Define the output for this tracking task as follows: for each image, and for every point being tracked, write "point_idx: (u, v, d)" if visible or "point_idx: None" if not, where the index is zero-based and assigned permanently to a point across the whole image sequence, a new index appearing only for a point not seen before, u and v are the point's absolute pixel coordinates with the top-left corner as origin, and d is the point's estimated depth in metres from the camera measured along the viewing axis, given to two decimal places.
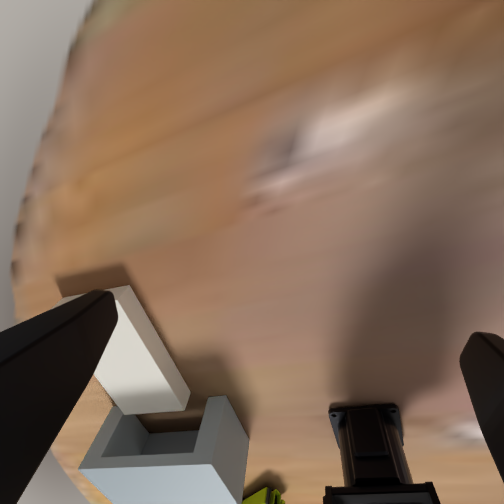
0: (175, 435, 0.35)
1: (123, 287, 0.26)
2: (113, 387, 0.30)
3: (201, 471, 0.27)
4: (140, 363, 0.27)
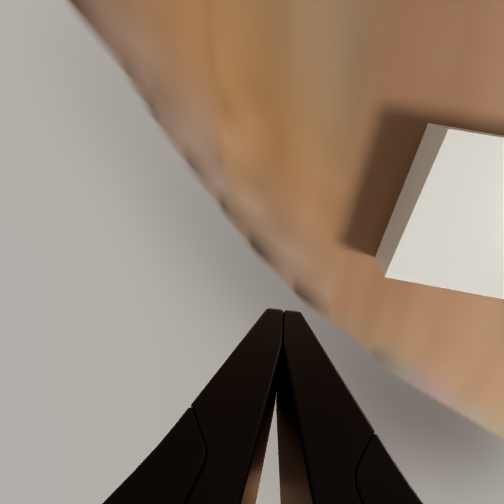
0: None
1: (426, 134, 0.14)
2: None
3: None
4: None
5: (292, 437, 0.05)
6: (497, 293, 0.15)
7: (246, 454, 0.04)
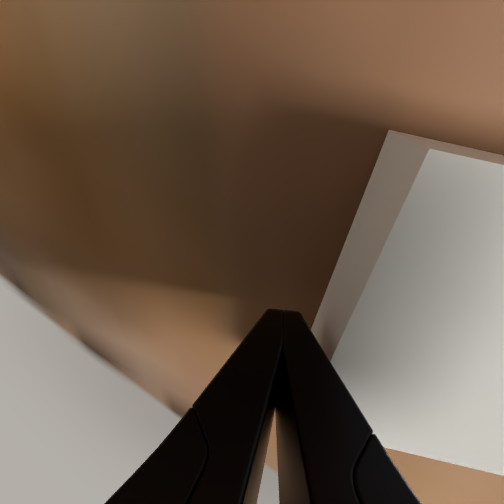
0: None
1: (384, 155, 0.06)
2: None
3: None
4: None
5: (290, 437, 0.05)
6: None
7: (247, 454, 0.04)
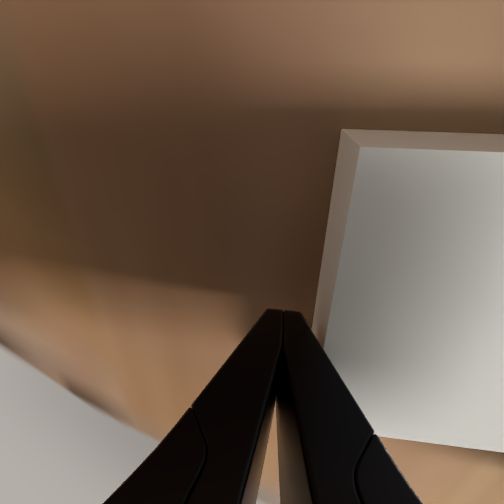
0: None
1: (340, 153, 0.06)
2: None
3: None
4: None
5: (291, 437, 0.05)
6: None
7: (246, 454, 0.04)
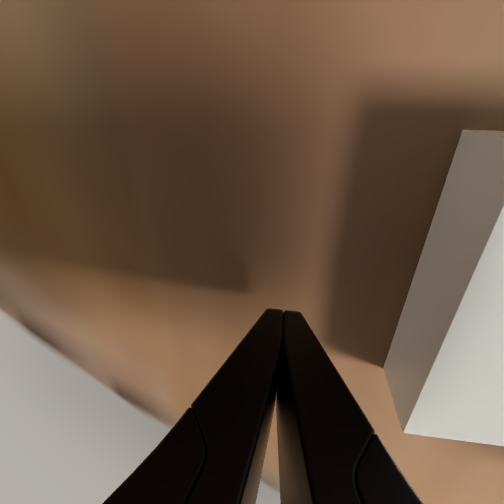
0: None
1: (460, 154, 0.06)
2: None
3: None
4: None
5: (292, 437, 0.05)
6: None
7: (246, 454, 0.04)
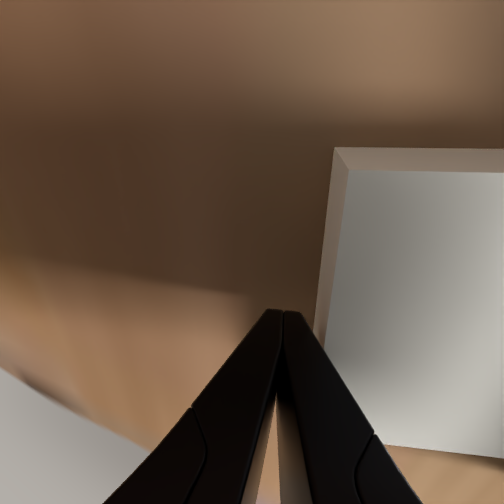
0: None
1: (333, 171, 0.07)
2: None
3: None
4: None
5: (292, 437, 0.05)
6: None
7: (246, 454, 0.04)
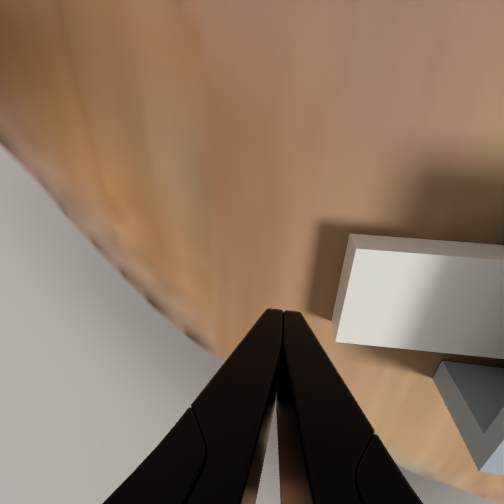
0: None
1: (348, 241, 0.19)
2: (496, 345, 0.19)
3: None
4: (477, 281, 0.17)
5: (292, 437, 0.05)
6: (421, 347, 0.20)
7: (246, 454, 0.04)
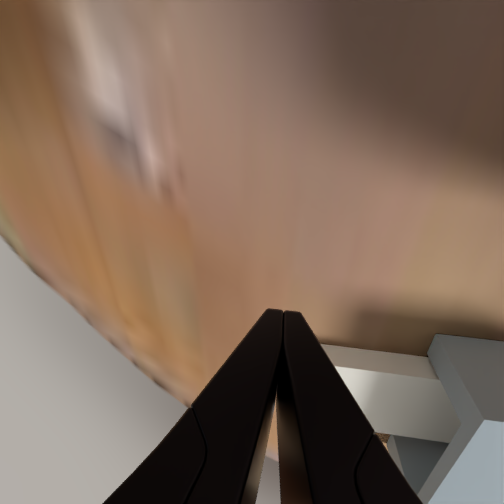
0: None
1: None
2: (424, 431, 0.24)
3: (495, 436, 0.17)
4: (404, 389, 0.22)
5: (292, 437, 0.05)
6: None
7: (246, 454, 0.04)
